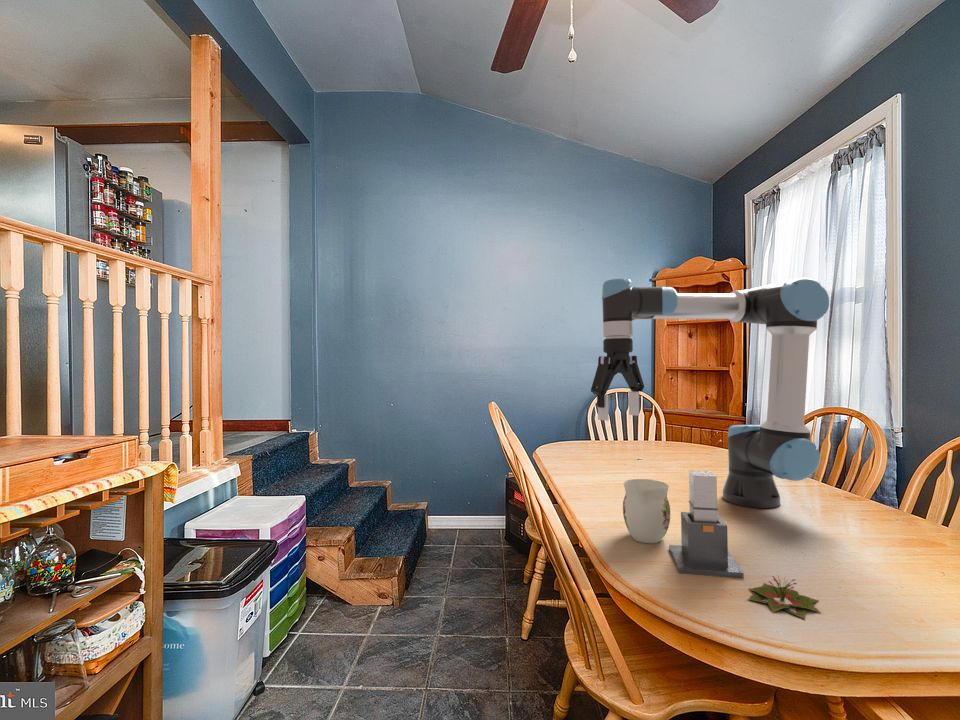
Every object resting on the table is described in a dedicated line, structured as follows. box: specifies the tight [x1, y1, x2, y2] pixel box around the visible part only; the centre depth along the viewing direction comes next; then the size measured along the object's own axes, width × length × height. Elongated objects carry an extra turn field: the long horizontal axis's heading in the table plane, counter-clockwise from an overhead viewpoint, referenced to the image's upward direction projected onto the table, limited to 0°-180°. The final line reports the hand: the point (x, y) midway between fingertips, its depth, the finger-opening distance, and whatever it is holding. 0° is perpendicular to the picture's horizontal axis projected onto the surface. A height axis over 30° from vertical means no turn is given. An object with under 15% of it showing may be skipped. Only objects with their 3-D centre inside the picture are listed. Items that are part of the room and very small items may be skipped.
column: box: [688, 470, 719, 524], centre depth 100 cm, size 5×5×18 cm
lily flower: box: [747, 575, 822, 620], centre depth 84 cm, size 12×12×5 cm
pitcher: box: [622, 478, 671, 544], centre depth 115 cm, size 11×18×14 cm, turn 155°
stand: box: [668, 511, 745, 579], centre depth 100 cm, size 12×12×10 cm
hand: (619, 417), depth 125 cm, fingers open, 13 cm apart
